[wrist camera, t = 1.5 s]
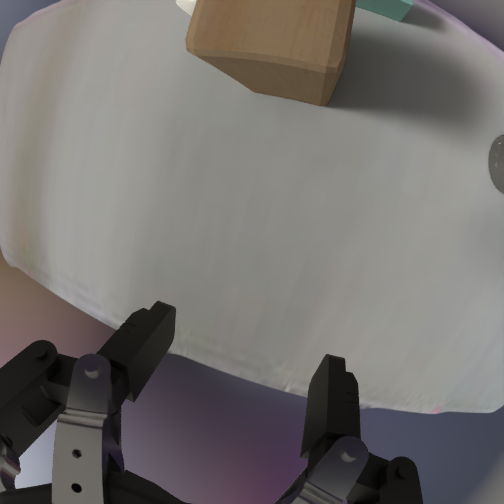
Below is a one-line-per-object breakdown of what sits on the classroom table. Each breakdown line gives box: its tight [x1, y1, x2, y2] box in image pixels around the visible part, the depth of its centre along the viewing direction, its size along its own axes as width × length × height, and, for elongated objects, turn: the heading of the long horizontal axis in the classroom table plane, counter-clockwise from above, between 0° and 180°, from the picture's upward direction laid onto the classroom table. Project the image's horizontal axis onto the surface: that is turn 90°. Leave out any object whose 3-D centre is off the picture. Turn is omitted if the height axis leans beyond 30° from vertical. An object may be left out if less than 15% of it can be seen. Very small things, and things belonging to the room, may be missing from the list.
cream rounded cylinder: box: [176, 0, 197, 16], centre depth 23 cm, size 6×6×7 cm
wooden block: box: [185, 0, 356, 106], centre depth 19 cm, size 10×10×20 cm
